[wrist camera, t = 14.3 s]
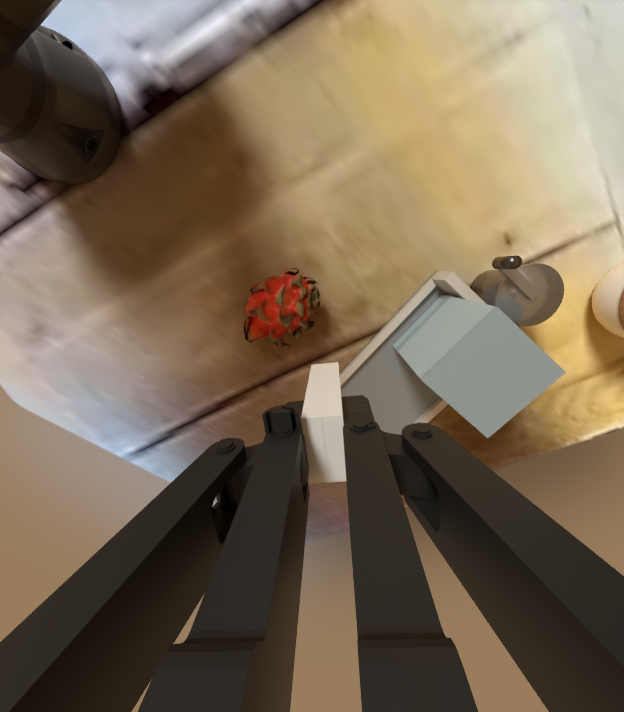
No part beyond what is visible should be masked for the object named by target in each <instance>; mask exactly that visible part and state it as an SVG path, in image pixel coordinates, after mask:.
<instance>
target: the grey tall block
mask: <svg viewBox="0 0 624 712" xmlns="http://www.w3.org/2000/svg"><path fill="white" fill-rule="evenodd" d="M393 346H394V348H395V349H396V350H397V352H399V354H400V355H401V356H402V357H403V359H404V360H405V361H406V362H407V363H408V365H409V366H410V367H411V368H412V369H413V371H414V372H415V373H416V374H417V376H418V377H419V378H420V379H421V380H422V381H423V382H424V383H425V384H426V385H427V386H428V387H430V388H431V389H432V390H433V391H434V392H435V393H436V394H438V395H439V396H440V397H441V398H442V399H443V400H444V401H446V402H447V403H448V404H449V405H450V406H451V407H452V408H454V409H455V410H456V411H457V412H458V413H459V414H460V415H462V416H463V417H464V418H465V419H466V420H467V421H468V422H470V423H471V424H472V425H473V426H474V427H475V428H476V429H478V430H479V431H480V432H481V433H482V434H483V435H484V436H485V437H487V438H489V437H490V436H491V435H493V434H494V433H495V432H496V431H497V430H498V429H500V428H501V427H502V426H503V425H504V424H505V423H507V422H508V421H509V420H510V419H511V418H513V417H514V416H515V415H516V414H517V413H518V412H520V411H521V410H522V409H523V408H524V407H526V406H527V405H528V404H529V403H530V402H531V401H533V400H534V399H535V398H536V397H537V396H539V395H540V394H541V393H542V392H543V391H544V390H546V389H547V388H548V387H549V386H550V385H552V384H553V383H554V382H555V381H556V380H557V379H559V378H560V377H561V376H562V375H563V374H564V373H566V372H565V371H564V370H563V369H562V368H561V367H559V366H558V365H557V364H556V363H555V362H554V361H553V360H552V359H551V358H550V357H549V356H548V355H547V354H546V353H545V352H544V351H543V350H542V349H541V348H540V347H539V346H538V345H537V344H536V343H535V342H534V341H532V340H531V339H530V338H529V337H528V336H527V335H526V334H525V333H524V332H523V331H522V330H521V329H520V328H519V327H518V326H517V325H516V324H515V323H514V322H513V321H512V320H511V319H510V318H509V317H508V316H507V315H506V314H504V313H503V312H502V311H501V310H500V309H499V308H498V307H496V306H491V305H487V304H482V303H478V302H473V301H469V300H464V299H460V298H456V297H452V296H450V295H441V296H440V297H439V298H438V299H437V300H436V301H435V302H434V303H433V304H432V305H431V306H430V307H429V308H428V309H427V310H426V311H425V312H424V314H423V315H422V316H421V317H420V318H419V319H418V320H417V321H416V322H415V323H414V324H413V325H412V326H411V327H410V328H409V329H408V330H407V331H406V332H405V333H404V334H403V335H402V336H401V337H400V338H399V339H398V340H397V341H396V342H395V343H394V345H393Z"/></svg>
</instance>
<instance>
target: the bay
mask: <svg viewBox="0 0 624 712" xmlns="http://www.w3.org/2000/svg"><path fill="white" fill-rule="evenodd" d="M441 295H450V296H452V297H456V298H460V299H464V300H469V301H473V302H478V303H482V304H486V303H485V302H484V301H483V300H482V299H481V298H480V297H479V296H478V295H477V294H476V293H475V292H474V291H472V290H471V289H470V288H469V287H468V286H467V285H466V284H465V283H464V282H463V281H462V280H461V279H460V278H459V277H458V276H457V275H456V274H455V273H454V272H440V271H435V272H434V274H433V275H432V276H431V277H430V278H429V279H428V280H427V281H426V282H425V283H424V284H423V285H422V286H421V287H420V288H419V289H418V291H417V292H416V293H415V294H414V295H413V296H412V297H411V298H410V299H409V300H408V301H407V302H406V303H405V304H404V305H403V306H402V308H401V309H400V310H399V311H398V312H397V313H396V314H395V315H394V316H393V317H392V318H391V319H390V320H389V321H388V322H387V324H386V325H385V326H384V327H383V328H382V329H381V330H380V331H379V332H378V333H377V334H376V335H375V336H374V337H373V338H372V339H371V341H370V342H369V343H368V344H367V345H366V346H365V347H364V348H363V349H362V350H361V351H360V352H359V353H358V354H357V355H356V356H355V358H354V359H353V360H352V361H351V362H350V363H349V364H348V365H347V366H346V367H345V368H344V369H343V370H342V371H341V372H340V374H339V376H340V386H341V397H345V396H357V395H363V396H365V397H366V398H368V400H369V403H370V406H371V410H372V413H373V416H374V420H375V422H377V423H378V425H379V426H380V430H382V431H384V432H387V433H392V434H400V435H402V434H401V432H402V429H403V428H404V427H405V426H407V425H410V424H413V423H428V422H429V421H430V420H431V419H433V418H434V417H435V416H436V415H437V414H438V413H439V412H440V411H441V410H442V409H443V408H445V407H446V406H447V405H448V403H447V402H446V401H444V400H443V399H442V398H441V397H440V396H439V395H438V394H436V393H435V392H434V391H433V390H432V389H431V388H430V387H428V386H427V385H426V384H425V383H424V382H423V381H422V380H421V379H420V378H419V377H418V376H417V374H416V373H415V372H414V371H413V369H412V368H411V367H410V366H409V365H408V363H407V362H406V361H405V360H404V359H403V357H402V356H401V355H400V354H399V352H397V350H396V349H395V348H394V346H393V345H394V343H395V342H396V341H397V340H398V339H399V338H400V337H401V336H402V335H403V334H404V333H405V332H406V331H407V330H408V329H409V328H410V327H411V326H412V325H413V324H414V323H415V322H416V321H417V320H418V319H419V318H420V317H421V316H422V315H423V314H424V312H425V311H426V310H427V309H428V308H429V307H430V306H431V305H432V304H433V303H434V302H435V301H436V300H437V299H438V298H439V297H440V296H441Z"/></svg>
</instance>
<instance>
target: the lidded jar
mask: <svg viewBox="0 0 624 712" xmlns="http://www.w3.org/2000/svg"><path fill="white" fill-rule="evenodd" d="M591 300H592V310H593V313H594V316H595V318H596V319H597V321H598V322H599V323H600V324H601V325H602V326H603V327H604V328H605V329H606V330H608V331H609V332H611V333H613V334H614V335H616V336H619V337H621V338H624V261H622V262H621V263H619V264H617V265H616V266H614V267H613V268H611V269H610V270H609V271H608V272H607V273H606V274H604V275H603V277H602V278H601V279H600V280H599V282H598V283H597V285H596V286H595V288H594V290H593V293H592V298H591Z"/></svg>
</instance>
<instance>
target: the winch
mask: <svg viewBox="0 0 624 712" xmlns="http://www.w3.org/2000/svg"><path fill="white" fill-rule="evenodd" d="M521 264H522V259H521V258H520V257H519V256H505V257H497V258H495V259H494V260H493V262H492V266H493V268H495V269H497V270H498V271H496V270H492V271H486V272H483V273H482V274H480V275H479V276H477V277H476V278H475V280H474V281H473V283H472V285H471V288H470V289H471V290H472V291H474V292H475V293H476V294H477V295H478V296H479V297H480V298H481V299H482V300H483V301H484V302H485V303H486V304H487V305H491V306H496V307H498V308H499V309H500V310H501V311H502V312H503V313H504V314H506V315H507V316H508V317H509V318H510V319H511V320H512V321H513V322H514V323H515V324H516V325H519V326H533V325H537V324H539V323H542V322H544V321H545V320H547V319H548V318H550V317H551V316H552V315H553V314H554V313H555V312H556V310H557V309H558V307H559V306H560V304H561V302H562V299H563V295H564V284H563V281H562V278H561V276H560V275H559V273H558V272H557V271H556V270H555V269H553V268H552V267H550V266H548V265H545V264H525V265H521Z"/></svg>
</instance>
